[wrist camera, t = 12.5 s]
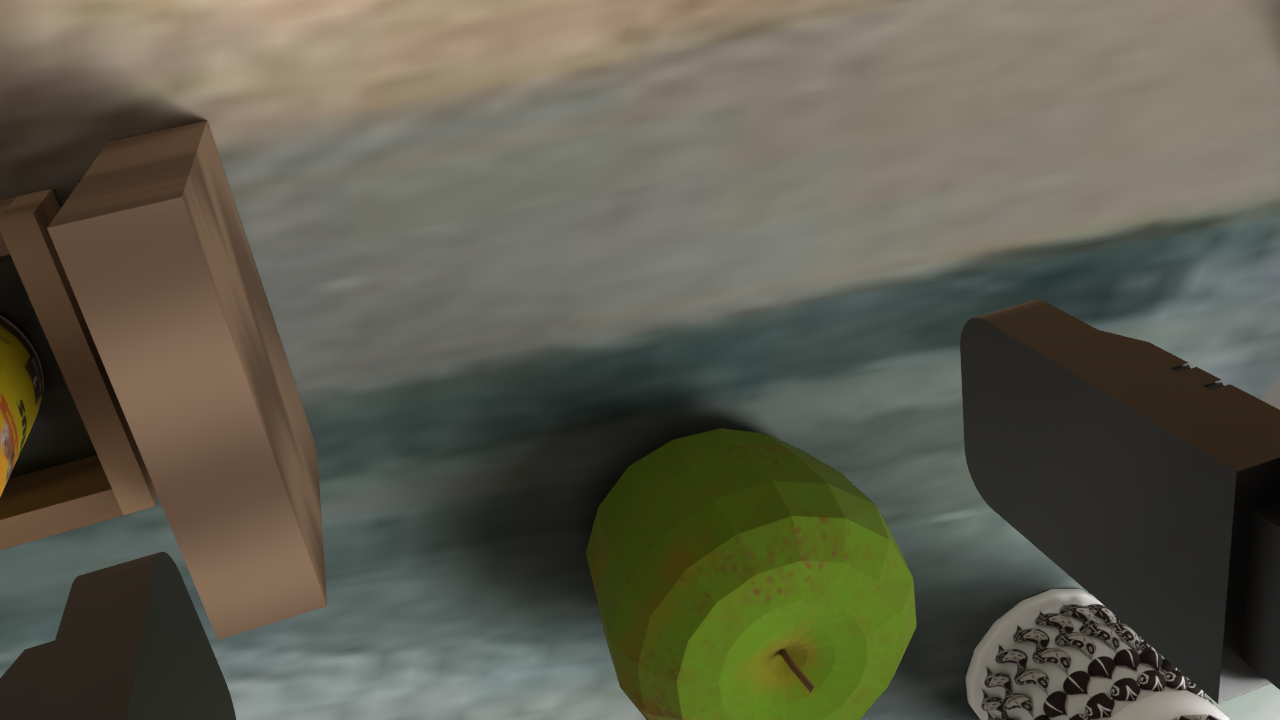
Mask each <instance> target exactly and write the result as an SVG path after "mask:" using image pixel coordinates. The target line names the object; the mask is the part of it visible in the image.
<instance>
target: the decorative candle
mask: <svg viewBox="0 0 1280 720" xmlns="http://www.w3.org/2000/svg"><path fill="white" fill-rule="evenodd" d="M965 679H966V690H967V700H968V703H969V705H970V706H971V708H972V709H973V710H974V712H975V713H976V714H977V716H978V717H979V718H980V720H1230V719H1229V718H1228V717H1227V716H1225V715H1224V714H1223V713H1222V712H1221V711H1220V710H1218V709H1217V708H1216V707H1215V706H1214V705H1213V703H1212V701H1211V700H1210V699H1208V698H1207V697H1204V694H1205V692H1204V691H1202V690H1201V689H1200V688H1199V687H1198V686H1197V685H1196V684H1194V683H1193V682H1192V681H1191V680H1187V678H1186V676H1185V675H1184V674H1183V673H1181V672H1180V671H1179V670H1178V669H1177V668H1176V667H1175V666H1174V665H1172V664H1171V663H1170V662H1169V661H1168V660H1167V659H1162V657H1161V655H1160V654H1159V653H1158V652H1157V651H1155V650H1154V648H1153V647H1152V646H1150V645H1149V644H1148V643H1147V642H1146V641H1145V640H1143V639H1142V638H1141V637H1140V636H1139V635H1138V634H1136V633H1135V632H1134V631H1133V630H1132V629H1131V628H1130V627H1128V626H1127V625H1126V624H1125V623H1124V622H1123V621H1121V620H1120V619H1119V618H1118V617H1117V616H1116V615H1114V614H1113V613H1112V612H1111V611H1110V610H1109V609H1108V608H1106V607H1105V606H1104V605H1103V604H1102V603H1101V602H1099V601H1098V600H1097V599H1096V598H1095V597H1094V596H1093V595H1091V594H1089V593H1087V592H1085V591H1083V590H1081V589H1050V590H1048V591H1045V592H1043V593H1040V594H1038V595H1035V596H1032V597H1030V598H1027V599H1025V600H1022V601H1021V602H1019V603H1018V604H1017V605H1015V606H1014V607H1013V608H1012V609H1010V610H1009V611H1008V612H1006V613H1005V614H1004V615H1002V616H1001V617H1000V618H999V619H997V620H996V621H995V622H994V623H993V624H992V626H991V627H990V628H989V630H988V631H987V633H986V634H985V635H984V637H983V638H982V639H981V641H980V642H979V643H978V645H977V646H976V648H975V649H974V652H973V655H972V658H971V661H970V664H969V667H968V671H967V674H966V677H965Z"/></svg>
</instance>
